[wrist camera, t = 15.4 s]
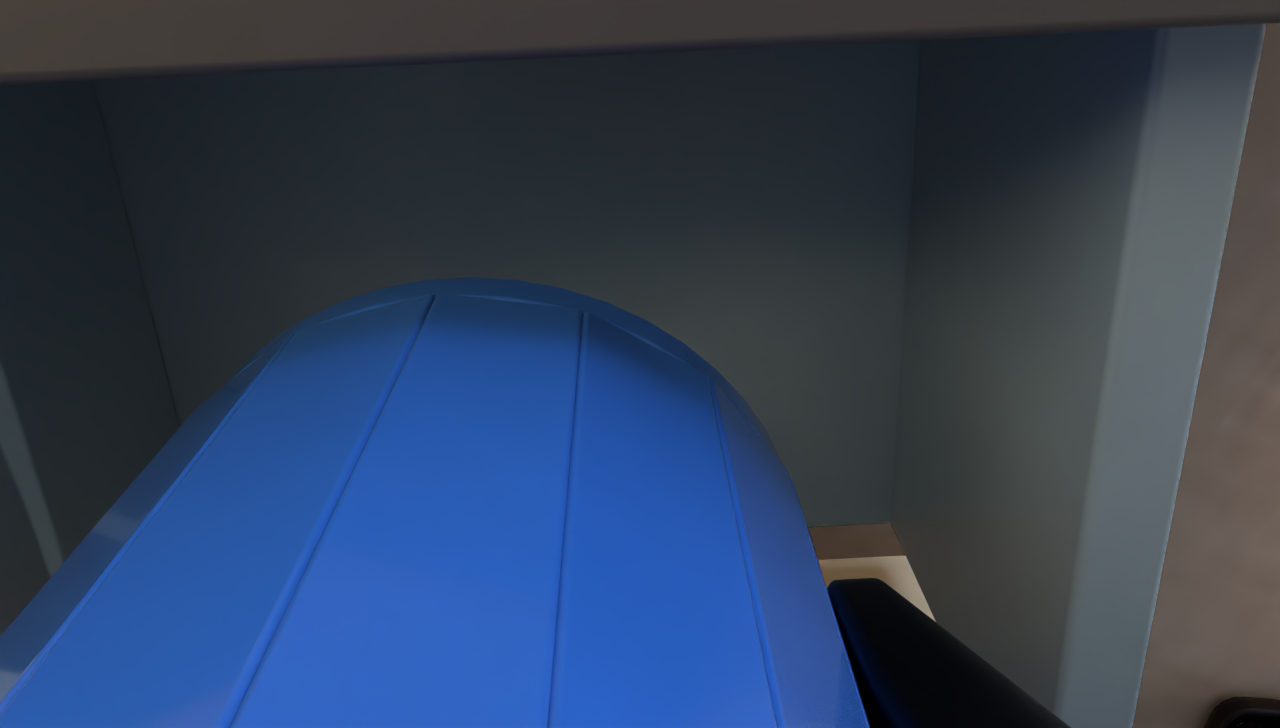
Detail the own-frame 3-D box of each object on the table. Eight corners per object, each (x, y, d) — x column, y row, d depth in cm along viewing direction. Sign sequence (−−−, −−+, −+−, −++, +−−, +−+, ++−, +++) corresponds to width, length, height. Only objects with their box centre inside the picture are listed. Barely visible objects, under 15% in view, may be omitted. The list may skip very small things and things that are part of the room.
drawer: (931, 817, 20) (1093, 1274, 13) (236, 853, 20) (45, 1332, 13) (1048, -404, 12) (1587, -795, 5) (-97, -351, 12) (-984, -683, 5)
